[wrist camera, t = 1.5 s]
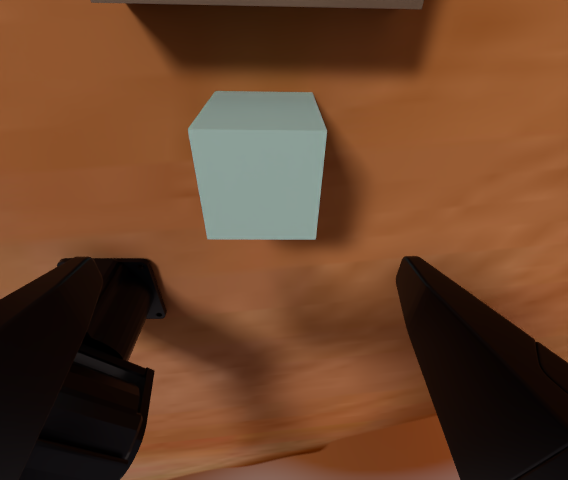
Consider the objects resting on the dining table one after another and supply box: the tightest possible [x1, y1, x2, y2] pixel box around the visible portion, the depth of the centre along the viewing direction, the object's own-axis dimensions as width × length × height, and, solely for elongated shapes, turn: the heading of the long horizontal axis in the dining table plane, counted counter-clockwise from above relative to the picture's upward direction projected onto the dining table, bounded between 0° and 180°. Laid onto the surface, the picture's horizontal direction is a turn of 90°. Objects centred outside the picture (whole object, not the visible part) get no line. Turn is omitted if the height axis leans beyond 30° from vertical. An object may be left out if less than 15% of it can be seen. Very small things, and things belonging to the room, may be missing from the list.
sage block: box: [188, 91, 327, 240], centre depth 15 cm, size 5×5×6 cm
